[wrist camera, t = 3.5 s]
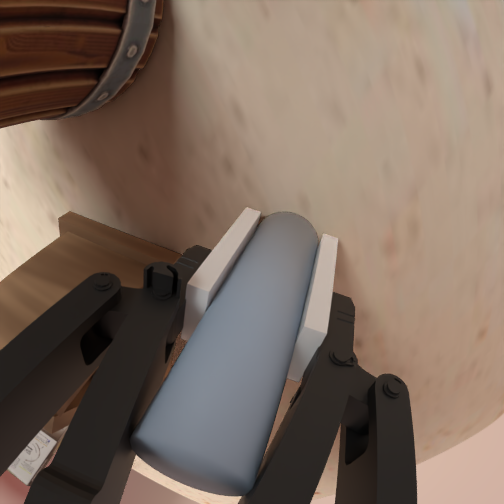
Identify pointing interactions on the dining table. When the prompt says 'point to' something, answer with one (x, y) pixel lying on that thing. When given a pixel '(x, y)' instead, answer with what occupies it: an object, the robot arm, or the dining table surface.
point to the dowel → (233, 367)
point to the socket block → (73, 281)
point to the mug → (71, 54)
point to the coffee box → (36, 455)
